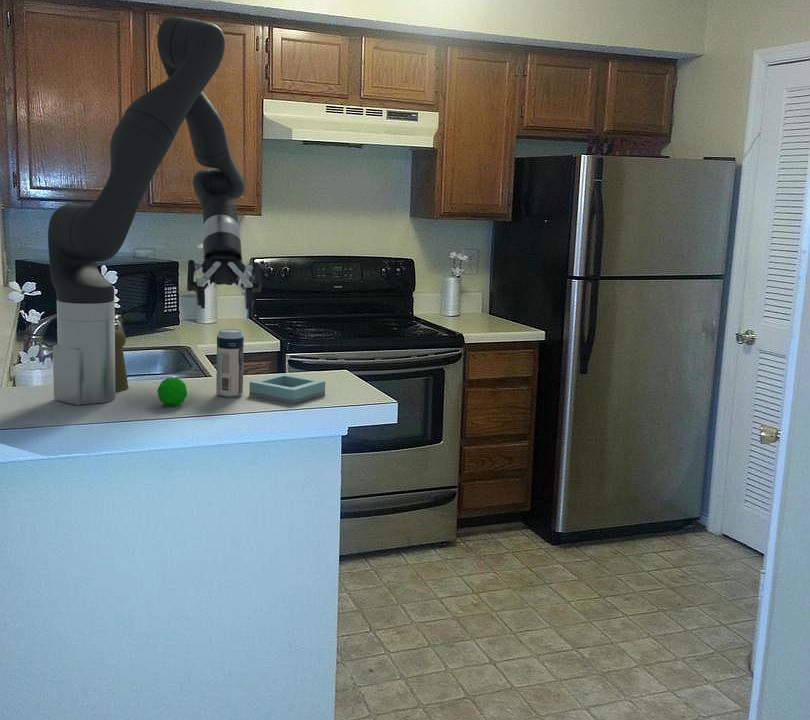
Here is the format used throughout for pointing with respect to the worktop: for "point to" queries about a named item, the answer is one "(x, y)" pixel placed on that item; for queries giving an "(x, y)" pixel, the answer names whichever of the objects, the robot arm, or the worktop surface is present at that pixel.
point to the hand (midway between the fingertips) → (225, 306)
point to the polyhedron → (172, 391)
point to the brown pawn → (120, 362)
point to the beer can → (230, 362)
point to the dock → (287, 388)
